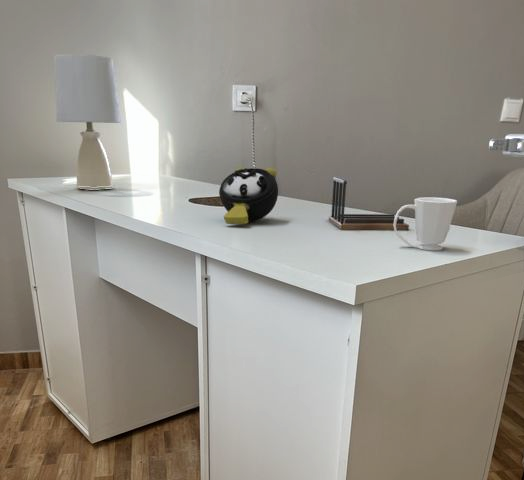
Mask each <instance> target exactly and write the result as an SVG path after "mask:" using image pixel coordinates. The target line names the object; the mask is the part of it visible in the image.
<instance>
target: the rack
mask: <svg viewBox="0 0 524 480" xmlns="http://www.w3.org/2000/svg"><path fill="white" fill-rule="evenodd" d="M332 181H333V182H332V183H333V184H332V200H331V214H330V215H329V216H328V221H329V222H330V223H331V224H333V226H335V227H336V228H338V229H339V230H341V231H394V219H395V216H396V215H395V214H392V213H391V214H389V213H386V214H385V213H345V206H346V193H347V184H348V181H347V180H345V179H342V178H340V177H338V176H333V179H332ZM409 229H410V225H409V224H408V223H406V222H405V219H404V218H400V217H399V216H398V218H397V221H396V230H397V231H409Z"/></svg>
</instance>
